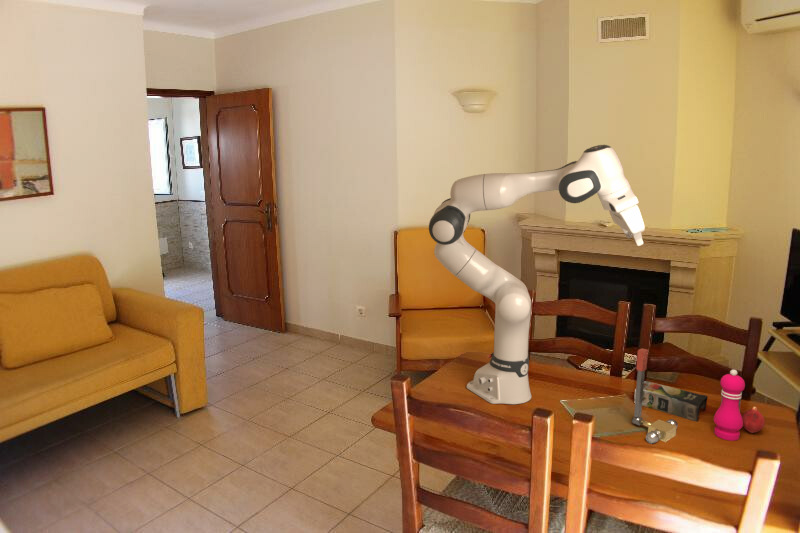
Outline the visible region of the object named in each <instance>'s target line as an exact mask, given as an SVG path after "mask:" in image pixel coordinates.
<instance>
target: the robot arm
mask: <svg viewBox="0 0 800 533" xmlns="http://www.w3.org/2000/svg"><path fill="white" fill-rule="evenodd" d="M551 191H553V192H554V191H559V192H558V193H559V194H560V197H561V198H562V199H563V200H564V201H565V202H567V203H570V204H580V203H582V202H584V201H586V200H588V199H590V198H591V197H592V196H595V195H596V194H597V196H598V198H599V200H600V203H601V205H602V208H603V210H605V211H608V212H609V214H610V217H611V219H612V221H613V223H614V224H616V225H617V226H619V227H620V228H621V230H622V232H623V233H624V235H625V236H624V237H625V238H627V239H628V240H629V239H631V238H633V240H634V243H635V245H636V246H638V247H640V246H642V245H644V241H643V236H642V233H644V232H645V231H646V226H645V223H644V219H643V216H642V213H641V210H640V208H639V205H638V204H639V203H640V202H639V199H638V197H637V196H636V194H635V193H634V191H633V189H632V187H631V184H630V182H629V180H628V179H627V177H626V176H625V173H624V167H623V165H622V163H621V160H620V159H619V156H618V154H617V153H616V151H615V149H614V148H613V147H612V146H610V145H608V144H598V145H595V146H591V147H589V148H586V149H585V150H584V151H583V152H582V153H581V155H580V157H579V159H578V160H574V161H571V162H568V163H567V164H565V165H562V166H561V167H559V168H555V169H549V170H541V171H532V172H523V173H522V172H521V173H511V172H510V173H505V172H500V173H497V172H495V173H493V172H491V173H481V174H474V175H471V176H470V175H469V176H466V177H462V178H459V179H457V180H455V181H454V182H453V184H452V186H451V187H450V194H449V195H450V197H449V198H447V199H445V200H444V201H442V202H441V203H440V205H439V206H437V208H436V209H435V210H434V211H433V212H434V213H433V215H432V216H431V218H430V220H429V222H428V233H429V234H430V235H429V236H430V237H431V239H432V240H433V241H434V242H435V243H436V244H435V246H434V251H433V253H434V256H435V258H436V259H437V261H438V262H439V263H440V264H441V265H442V266H443V267H444V268H445V269H446V270H447V271H448V272H449V273H451V274H452V275H453V276H454V277H456V278H457V279H458V280H460V281H461V282H462V283H464V284H465V285H467V287H469V288H470V289H471V290H473V291H474V292H477V293H478V294H481V295H482V296H484V297H486V298H488V299H489V300H491V301H492V302H493V303H494V304H495V310H494V311H495V317H494V332H493V336H494V337H493V338H494V340H493V341H494V342H493V352H492V353H490V354H487V359H489V362H487V363H486V364H484V365H483V366H481V367H479V368H478V369H477V370H476V371H475V373H474V376H473V380H470V381H469V382H468V383H467V385H466V389H467V390H469V391H471V393H474V394H475V395H477V396H478V397H480V398H482V399H483V400H484V401H486V402H488V403H489V404H493V405H494V404H498V405H499V404H506V405H518V404H519V405H520V404H524V403H527V402H529V401H530V400H531V399H532V393H531V389H530V383H529V369H530V368H529V367H530V356H529V335H530V334H529V333H530V324H531V315H532V300H531V295H530V293H529V290H528V288H527V286H526V284H525V283H524V282H523V281H522V280H520V279H518V277H517V276H515V275H513V274H512V273H510V272H508V271H507V270H505V268H502V267H501V266H499V265H497V264H496V263H495V262H493V261H492V260H491V259H490V258H488V257H487V256H486V255H485V254H483V253H482V252H481V251H479V250H478V249H477V248H475V247H474V246H473V245H471V244H470V243H469V242H467V240H466V238H465V237H464V233H465V232H466V230H467V227H468V225H469V223H470V219H471V214H472V213H474V212H480V211H481V212H482V211H483V212H484V211H496V210H501V209H504V208H508V207H510V206H513V205H514V204H515V203H516V202H517V201H519V200H520V199H522V198H523V197H525V196H528V195H530V194H536V193H543V192H551Z"/></svg>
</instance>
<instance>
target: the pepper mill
mask: <svg viewBox="0 0 800 533" xmlns="http://www.w3.org/2000/svg"><path fill="white" fill-rule="evenodd" d="M719 381H720V386H721V388H722V389H721V390H720V391H721V392H720V394H721V397H722V396H723V399H722V403H721V402H720V406H719V408H717V410H716V412H715V413H714V416H713V423H714V424H715V426H714V435H715V436H716V437H718V438H719V439H722V440H725V441H733V442H734V441H738V440H739V439H740V435H741V432H740V430H741V429H742V428H744V426H743V419H742V414H741V410H740V411H739V399H741V400H742V394H743V391H744V390H745V387H746V383H745V380H744V379H743V378H742V377H741V376H740V375H738V371H737V369H731V370H730V371H729V373H727V374H724V375H723V376H721V378H720V380H719ZM741 391H742V393H741Z"/></svg>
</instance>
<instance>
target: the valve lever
mask: <svg viewBox="0 0 800 533" xmlns="http://www.w3.org/2000/svg"><path fill="white" fill-rule="evenodd" d="M648 355H649V350H648V349H646V348H642V347H641V348H639V349H638V350H637V357H636V359H637V360H636V371H637V375H636V386H635V387H636V388H635V389H636V400H635V399H634V401H635V404H634V414H633V417H632V419H631V423H632V424H634V425H637V426H639V427H640V426H641V425H642V424H640V422H641V420H644V419H643V417H642V411H643V406H642V400H643V387H644V381H645V375H646V374H645V372H646V370H647V368H648V367H647V365H648V357H649V356H648Z"/></svg>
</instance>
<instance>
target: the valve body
mask: <svg viewBox="0 0 800 533" xmlns="http://www.w3.org/2000/svg"><path fill="white" fill-rule="evenodd" d="M640 424H641V425H642V426H644V427H647V433H646V435H645V441H646V442H647V443H648V444H655V443H657V442H658V441H662V442H664V443H667V442H668V441H670V440H671V439H672V438H674V437H676V436H677V428H678V424H679V423H678V422H677V421H676V420H675V419H672V418H669V419H668V420H666V421H664V420H661V419H657V420H656V421H654V422H649V421H647V420H646V419H643V420H641V422H640Z"/></svg>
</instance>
